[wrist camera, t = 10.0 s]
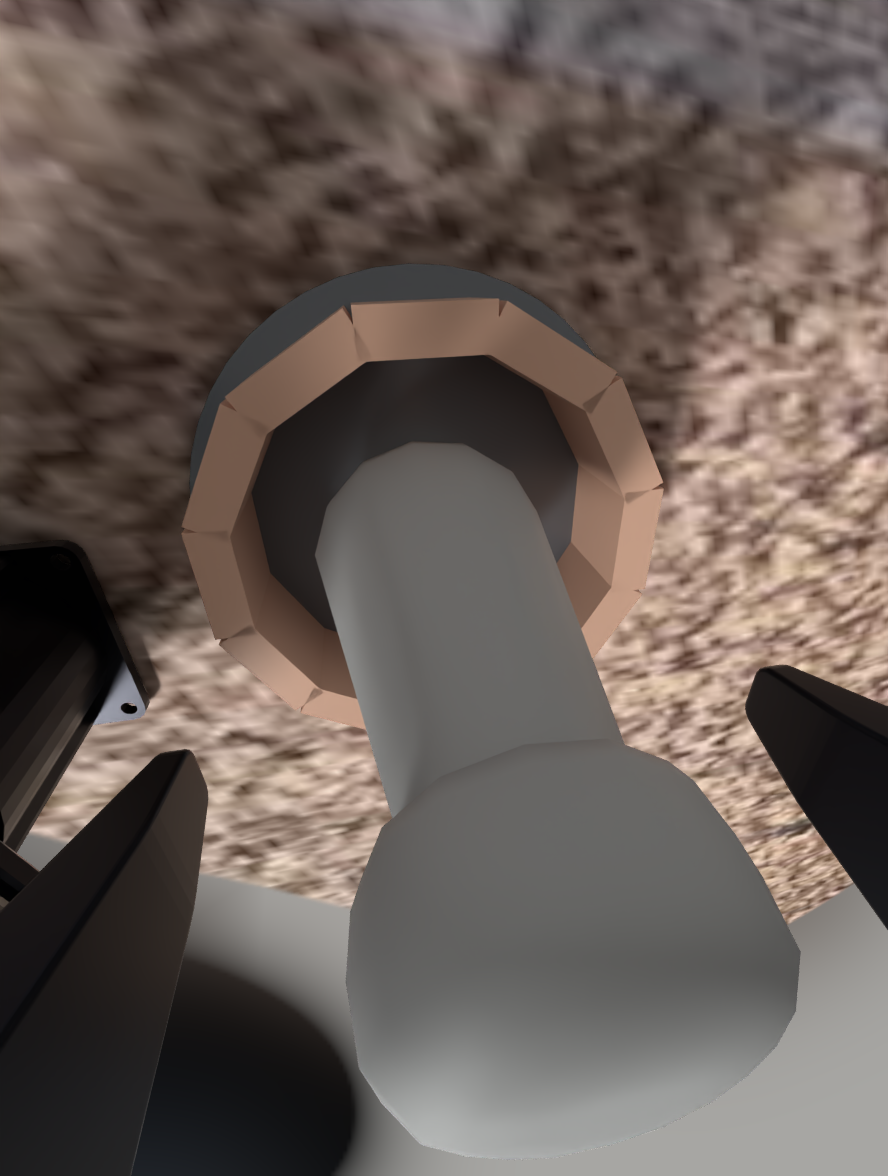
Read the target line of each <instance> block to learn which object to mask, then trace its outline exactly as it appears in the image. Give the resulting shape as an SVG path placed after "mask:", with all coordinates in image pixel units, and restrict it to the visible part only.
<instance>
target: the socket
mask: <svg viewBox="0 0 888 1176" xmlns="http://www.w3.org/2000/svg"><path fill="white" fill-rule="evenodd" d="M616 374H617V371H615V370H614V369H612V368H611V367H609V366H608V365H606V364H605V363H603V362H601V361H600V360H598V359H597V358H596V357H595V356H594V354H593V353H592V351H591V350H590V348H589V347H588V345H587V344H586V343H585V341H584V340H583V339H582V338H581V337H580V336H579V335H578V334H577V333H576V332H575V331H574V330H573V329H572V328H571V327H570V325H569V324H568V323H567V322H566V321H565V320H564V319H563V318H561V317H560V316H559V315H557V314H556V313H555V312H554V311H552V310H551V309H550V308H548V307H547V306H546V305H545V304H543V303H542V302H541V301H540V300H538V299H536V298H534V297H533V296H531V295H529V294H527V293H526V292H524V291H522V290H520V289H518V288H517V287H515V286H513V285H511V284H509V283H506V282H504V281H501V280H498V279H496V278H493V277H490V276H487V275H485V274H482V273H479V272H476V271H471V270H466V269H461V268H456V267H451V266H446V265H429V264H400V265H392V266H383V267H374V268H370V269H366V270H362V271H359V272H355V273H351V274H348V275H344V276H341V277H337V278H335V279H333V280H331V281H328V282H326V283H324V284H322V285H320V286H317V287H315V288H313V289H311V290H308V291H306V292H304V293H303V294H301V295H300V296H298V297H297V298H295V299H294V300H292V301H291V302H289V303H287V304H286V305H284V306H283V307H281V308H280V309H278V310H277V311H275V312H274V313H273V314H272V315H271V316H270V317H269V318H267V319H266V320H265V321H264V322H263V323H262V324H261V325H260V326H259V327H257V328H256V329H255V330H254V331H253V332H252V333H251V334H250V335H249V336H248V337H247V338H246V339H245V341H244V342H243V343H242V344H241V346H240V347H239V348H238V349H237V351H236V352H235V353H234V354H233V355H232V357H231V358H230V359H229V360H228V362H227V363H226V365H225V367H224V368H223V370H222V372H221V373H220V375H219V377H218V379H217V380H216V382H215V384H214V386H213V387H212V389H211V391H210V393H209V396H208V398H207V401H206V403H205V406H204V408H203V411H202V414H201V416H200V419H199V421H198V425H197V430H196V434H195V439H194V443H193V448H192V452H191V467H190V482H189V485H190V500H189V503H188V506H187V510H186V513H185V516H184V519H183V522H182V525H181V527H183V528H185V529H184V531H183V532H182V534H181V535H182V538H183V541H184V544H185V548H186V551H187V554H188V557H189V560H190V563H191V566H192V569H193V572H194V575H195V578H196V582H197V585H198V588H199V591H200V594H201V597H202V600H203V603H204V606H205V609H206V612H207V616H208V619H209V622H210V625H211V628H212V631H213V634H214V637H215V640H216V639H221V641H220V643H219V645H220V646H221V647H222V648H223V649H224V650H226V651H227V652H228V653H229V654H230V655H231V656H233V657H234V658H235V659H236V660H237V661H238V662H240V663H241V664H242V665H243V666H244V667H245V668H247V669H248V670H249V671H250V672H251V673H252V674H254V675H255V676H256V677H257V678H258V679H259V680H261V681H262V682H263V683H264V684H265V685H266V686H268V687H269V688H270V689H271V690H272V691H274V692H275V693H276V694H277V695H278V696H279V697H281V698H282V699H283V700H284V701H285V702H286V703H288V704H289V705H290V706H291V707H292V708H293V709H295V710H297V709H298V708H300V707H301V713H303V714H307V715H311V716H315V717H319V718H323V719H327V720H330V721H334V722H338V723H342V724H346V725H350V726H354V727H358V728H362V729H366V727H365V723H364V720H363V717H362V713H361V710H360V706H359V703H358V700H357V696H356V693H355V689H354V686H353V683H352V679H351V676H350V672H349V669H348V666H347V662H346V659H345V655H344V652H343V649H342V645H341V642H340V638H339V635H338V632H337V628H336V625H335V622H334V618H333V615H332V611H331V608H330V605H329V601H328V598H327V594H326V591H325V588H324V584H323V581H322V577H321V574H320V571H319V567H318V564H317V560H316V557H315V553H316V549H317V545H318V540H319V536H320V532H321V528H322V524H323V520H324V516H325V512H326V508H327V506H328V504H329V503H330V501H331V500H332V499H333V497H334V496H335V495H336V494H337V492H338V491H339V490H340V489H341V488H342V486H343V485H344V484H345V483H346V481H347V480H348V479H349V478H350V477H351V475H352V474H353V473H354V472H355V470H356V469H357V468H358V467H359V465H360V464H361V463H362V462H363V461H366V460H368V459H371V458H373V457H375V456H378V455H380V454H383V453H385V452H387V451H390V450H392V449H395V448H397V447H399V446H402V445H404V444H407V443H409V442H411V441H415V442H441V443H463V444H465V445H467V446H469V447H471V448H472V449H474V450H476V451H477V452H479V453H481V454H483V455H484V456H486V457H488V458H490V459H491V460H493V461H495V462H496V463H498V464H500V465H502V466H503V467H505V468H507V469H509V470H510V471H512V472H513V473H514V475H515V477H516V478H517V480H518V481H519V483H520V485H521V486H522V488H523V490H524V491H525V493H526V494H527V496H528V498H529V499H530V501H531V503H532V504H533V506H534V508H535V509H536V511H537V513H538V515H539V518H540V521H541V523H542V526H543V529H544V531H545V534H546V537H547V539H548V542H549V545H550V547H551V550H552V553H553V555H554V558H555V561H556V563H557V566H558V569H559V571H560V574H561V577H562V579H563V582H564V585H565V587H566V590H567V593H568V595H569V598H570V601H571V603H572V606H573V609H574V611H575V614H576V617H577V619H578V622H579V624H580V627H581V630H582V632H583V635H584V638H585V640H586V643H587V646H588V648H589V651H590V654H591V656H592V659H593V658H594V657H595V655H596V654H597V653H598V652H599V650H600V649H601V648H602V646H603V645H604V644H605V642H606V641H607V640H608V638H609V637H610V636H611V634H612V633H613V632H614V631H615V629H616V628H617V627H618V625H619V624H620V623H621V621H622V620H623V619H624V617H625V616H626V615H627V614H628V612H629V611H630V610H631V608H632V607H633V606H634V604H635V603H636V602H637V600H638V599H639V598H640V596H641V595H642V593H641V592H640V591H639V589H645V585H646V580H647V574H648V569H649V564H650V558H651V553H652V548H653V542H654V537H655V532H656V527H657V521H658V516H659V511H660V505H661V500H662V495H663V490H664V489H663V488H662V487H660V486H658V485H660V484H661V483H663V481H662V478H661V476H660V473H659V470H658V468H657V465H656V463H655V460H654V458H653V455H652V453H651V450H650V448H649V445H648V442H647V440H646V437H645V435H644V432H643V430H642V427H641V425H640V422H639V419H638V417H637V414H636V412H635V409H634V407H633V404H632V402H631V399H630V396H629V394H628V391H627V389H626V386H625V384H624V381H623V379H622V377H618V376H615V375H616Z"/></svg>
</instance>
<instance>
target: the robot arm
mask: <svg viewBox="0 0 888 1176" xmlns="http://www.w3.org/2000/svg"><path fill="white" fill-rule="evenodd" d="M57 554H61V555H64V556H66V557H68V559H69V560H70V561H71V564H66V563H64V562H62V561H61V560H60V559H59V558H58V556H57ZM127 703H132V704H135V705H136V706H131V705H129V704H127ZM149 703H150V702H149V697H148V695H147V693H146V690H145V688H144V686H143V683H142V681H141V679H140V677H139V674H138V672H137V670H136V667H135V665H134V663H133V661H132V658H131V656H130V654H129V651H128V649H127V647H126V644H125V642H124V640H123V638H122V635H121V633H120V631H119V628H118V626H117V624H116V622H115V619H114V617H113V615H112V612H111V610H110V608H109V605H108V603H107V601H106V599H105V596H104V594H103V592H102V589H101V587H100V585H99V583H98V580H97V578H96V576H95V573H94V571H93V569H92V566H91V564H90V562H89V560H88V557H87V555H86V553H85V552H84V550H83V549H82V548H81V547H80V546H78V545H77V544H76V543H73V542H70V541H66V540H56V541H45V542H34V543H24V544H13V545H2V546H0V1176H131V1172H132V1168H133V1164H134V1159H135V1155H136V1151H137V1147H138V1143H139V1138H140V1134H141V1130H142V1126H143V1122H144V1118H145V1113H146V1109H147V1105H148V1101H149V1097H150V1092H151V1088H152V1084H153V1080H154V1076H155V1071H156V1067H157V1063H158V1059H159V1055H160V1051H161V1047H162V1042H163V1038H164V1034H165V1030H166V1026H167V1021H168V1017H169V1013H170V1009H171V1005H172V1000H173V996H174V992H175V988H176V984H177V980H178V975H179V971H180V967H181V963H182V958H183V955H184V950H185V946H186V942H187V938H188V934H189V929H190V925H191V920H192V915H193V911H194V905H195V898H196V892H197V884H198V876H199V869H200V861H201V853H202V845H203V837H204V830H205V822H206V814H207V806H208V789H207V785H206V782H205V780H204V778H203V775H202V773H201V770H200V768H199V765H198V763H197V760H196V758H195V756H194V754H193V753H192V752H191V751H190V750H187V749H183V750H176V751H169V752H163V753H160V754H159V755H157V756H156V757H155V758H154V759H153V760H152V761H151V762H150V763H149V764H148V765H147V766H146V767H145V768H144V769H143V770H142V771H141V772H140V773H139V774H138V775H137V776H136V777H135V778H134V779H133V780H132V781H131V782H129V783H128V784H127V785H126V786H125V787H124V788H123V789H122V790H121V791H120V792H119V793H118V794H117V795H116V796H115V797H114V798H113V799H112V800H111V801H110V802H109V803H108V804H107V805H106V806H105V807H104V808H103V809H102V810H101V811H100V812H99V813H98V814H97V815H96V816H95V817H94V818H93V819H92V820H91V821H90V822H89V823H88V824H87V825H86V826H85V827H84V828H83V829H82V830H81V831H80V832H79V833H78V834H77V835H76V836H75V837H74V838H73V839H72V840H71V841H70V842H69V843H68V844H67V845H66V846H65V847H64V848H63V849H62V850H61V851H60V852H59V853H58V854H57V855H56V856H55V857H54V858H53V859H52V860H51V861H50V862H49V863H48V864H47V865H46V866H45V867H44V868H43V869H42V870H41V871H39V870H37V869H36V868H35V867H34V866H32V865H31V864H30V863H28V862H27V861H26V860H25V859H23V858H22V857H21V856H20V855H18V854H17V851H18V850H19V848H20V846H21V845H22V843H23V841H24V840H25V838H26V836H27V835H28V833H29V831H30V830H31V828H32V826H33V825H34V823H35V821H36V819H37V818H38V816H39V814H40V813H41V811H42V809H43V808H44V806H45V804H46V803H47V801H48V799H49V798H50V796H51V794H52V793H53V791H54V789H55V787H56V786H57V784H58V782H59V781H60V779H61V777H62V776H63V774H64V772H65V771H66V769H67V767H68V766H69V764H70V762H71V761H72V759H73V757H74V755H75V754H76V752H77V750H78V749H79V747H80V745H81V744H82V742H83V740H84V739H85V737H86V735H87V734H88V732H89V730H90V729H91V727H92V725H96V724H104V723H111V722H119V721H126V720H134V719H137V718H140V717H142V716H143V715H144V713H145V711H146V709H147V707H148V705H149ZM745 710H746V715H747V717H748V719H749V721H750V723H751V725H752V726H753V728H754V730H755V732H756V733H757V735H758V737H759V738H760V740H761V742H762V744H763V745H764V747H765V749H766V750H767V752H768V754H769V756H770V757H771V759H772V761H773V762H774V764H775V766H776V768H777V769H778V771H779V773H780V774H781V776H782V778H783V780H784V781H785V783H786V785H787V786H788V788H789V790H790V791H791V793H792V795H793V796H794V798H795V800H796V801H797V803H798V804H799V806H800V807H801V809H802V810H803V812H804V813H805V814H806V816H807V817H808V819H809V820H810V822H811V823H812V824H813V826H814V827H815V829H816V830H817V831H818V833H819V834H820V836H821V837H822V838H823V840H824V841H825V843H826V844H827V846H828V847H829V848H830V850H831V851H832V853H833V854H834V855H835V857H836V858H837V860H838V861H839V862H840V864H841V865H842V867H843V868H844V869H845V871H846V872H847V874H848V875H849V876H850V878H851V879H852V881H853V882H854V883H855V885H856V886H857V888H858V889H859V890H860V892H861V893H862V895H863V896H864V897H865V899H866V900H867V902H868V903H869V905H870V906H871V907H872V909H873V910H874V912H875V913H876V914H877V916H878V917H879V918H880V920H881V921H882V923H883V924H884V925H885V927H886V928H887V930H888V706H885V705H883V704H881V703H878V702H876V701H873V700H871V699H868V698H866V697H864V696H861V695H859V694H856V693H854V692H852V691H849V690H847V689H844V688H842V687H840V686H837V685H835V684H832V683H830V682H828V681H825V680H823V679H820V678H818V677H815V676H813V675H811V674H808V673H806V672H803V671H801V670H799V669H796V668H794V667H791V666H789V665H775V666H768V667H763V668H760V669H759V670H758V671H757V673H756V675H755V678H754V680H753V683H752V686H751V689H750V692H749V695H748V698H747V700H746V704H745Z"/></svg>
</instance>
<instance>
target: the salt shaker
mask: <svg viewBox="0 0 888 1176" xmlns="http://www.w3.org/2000/svg"><path fill="white" fill-rule="evenodd" d="M315 557H316V560H317V564H318V567H319V571H320V574H321V577H322V581H323V584H324V588H325V591H326V594H327V598H328V601H329V605H330V608H331V611H332V615H333V618H334V622H335V625H336V628H337V632H338V635H339V638H340V642H341V645H342V649H343V652H344V655H345V659H346V662H347V666H348V669H349V672H350V676H351V679H352V683H353V686H354V689H355V693H356V696H357V700H358V703H359V706H360V710H361V713H362V717H363V720H364V723H365V727H366V730H367V734H368V737H369V740H370V744H371V747H372V751H373V754H374V757H375V761H376V764H377V768H378V771H379V774H380V778H381V781H382V785H383V788H384V791H385V795H386V798H387V801H388V805H389V808H390V812H391V815H392V819H391V820H390V821H389V822H388V823H386V824H385V825H384V826H383V827H382V828H381V831H380V833H379V836H378V838H377V841H376V843H375V846H374V848H373V851H372V853H371V856H370V858H369V861H368V863H367V866H366V868H365V871H364V873H363V876H362V878H361V881H360V884H359V887H358V890H357V893H356V896H355V899H354V902H353V905H352V908H351V911H350V926H349V941H348V957H347V972H346V986H347V993H348V999H349V1005H350V1012H351V1018H352V1025H353V1032H354V1038H355V1045H356V1052H357V1058H358V1065H359V1069H360V1071H361V1072H362V1074H363V1075H364V1077H365V1078H366V1080H367V1081H368V1083H369V1084H370V1086H371V1088H372V1089H373V1091H374V1092H375V1094H376V1095H377V1097H378V1098H379V1100H380V1101H381V1103H382V1104H383V1105H384V1106H385V1107H386V1108H387V1109H388V1110H389V1111H390V1113H391V1114H392V1115H393V1116H394V1117H395V1118H396V1119H397V1120H398V1121H399V1122H400V1123H401V1124H402V1125H403V1126H404V1127H405V1128H406V1130H408V1132H409V1133H410V1134H411V1135H412V1136H413V1137H414V1138H415V1139H416V1140H417V1141H418V1142H419V1143H420V1144H421V1145H424V1146H428V1147H432V1148H436V1149H439V1150H443V1151H447V1152H451V1153H455V1154H459V1155H463V1156H470V1157H482V1158H493V1159H504V1160H514V1159H539V1158H540V1159H541V1158H556V1157H561V1156H565V1155H569V1154H574V1153H578V1152H582V1151H587V1150H591V1149H595V1148H600V1147H604V1146H608V1145H612V1144H615V1143H618V1142H620V1141H623V1140H626V1139H629V1138H633V1137H636V1136H639V1135H641V1134H644V1133H647V1132H650V1131H653V1130H656V1129H659V1128H662V1127H665V1126H667V1125H669V1124H671V1123H673V1122H675V1121H677V1120H679V1119H681V1118H683V1117H685V1116H686V1115H688V1114H690V1113H692V1112H694V1111H696V1110H698V1109H700V1108H702V1107H704V1106H706V1105H708V1104H710V1103H711V1102H713V1101H714V1100H716V1099H717V1098H718V1097H720V1096H721V1095H722V1094H724V1093H725V1092H727V1091H728V1090H729V1089H731V1088H732V1087H733V1086H735V1085H736V1084H737V1083H739V1082H740V1081H741V1080H743V1079H744V1078H745V1077H747V1076H748V1075H749V1074H750V1073H751V1072H752V1071H753V1070H754V1069H755V1068H756V1067H757V1066H758V1065H759V1064H760V1063H761V1062H762V1061H763V1060H764V1059H765V1058H766V1057H767V1056H768V1055H769V1054H770V1053H771V1052H772V1050H773V1049H774V1048H775V1047H776V1046H777V1045H778V1043H779V1041H780V1039H781V1037H782V1035H783V1033H784V1032H785V1030H786V1028H787V1026H788V1024H789V1022H790V1021H791V1019H792V1017H793V1015H794V1013H795V1011H796V1001H797V988H798V976H799V964H800V950H799V948H798V946H797V944H796V942H795V940H794V938H793V936H792V934H791V932H790V930H789V928H788V926H787V924H786V922H785V920H784V918H783V916H782V914H781V912H780V910H779V908H778V906H777V904H776V902H775V900H774V898H773V896H772V894H771V893H770V891H769V889H768V887H767V885H766V883H765V881H764V879H763V877H762V875H761V874H760V872H759V870H758V869H757V867H756V866H755V864H754V863H753V861H752V860H751V858H750V856H749V855H748V853H747V852H746V850H745V849H744V847H743V845H742V844H741V842H740V841H739V839H738V838H737V836H736V835H735V833H734V832H733V831H732V829H731V828H730V827H729V826H728V824H727V823H726V822H725V820H724V819H723V818H722V817H721V815H720V814H719V813H718V811H717V810H716V809H715V808H714V806H713V805H712V804H711V802H710V801H709V800H708V799H707V797H706V796H705V795H704V793H703V792H702V791H701V790H700V788H699V787H698V786H697V784H696V783H695V782H694V781H693V780H692V779H691V778H690V777H688V776H687V775H686V774H684V773H683V772H682V771H681V770H679V769H678V768H677V767H675V766H674V765H673V764H671V763H670V762H669V761H667V760H664V759H662V758H659V757H656V756H654V755H651V754H648V753H646V752H643V751H640V750H637V749H635V748H632V747H629V746H627V745H625V744H624V741H623V739H622V736H621V733H620V731H619V728H618V726H617V723H616V720H615V718H614V715H613V712H612V710H611V707H610V704H609V702H608V699H607V696H606V694H605V691H604V688H603V686H602V683H601V680H600V678H599V675H598V672H597V670H596V667H595V664H594V662H593V659H592V656H591V654H590V651H589V648H588V646H587V643H586V640H585V638H584V635H583V632H582V630H581V627H580V624H579V622H578V619H577V617H576V614H575V611H574V609H573V606H572V603H571V601H570V598H569V595H568V593H567V590H566V587H565V585H564V582H563V579H562V577H561V574H560V571H559V569H558V566H557V563H556V561H555V558H554V555H553V553H552V550H551V547H550V545H549V542H548V539H547V537H546V534H545V531H544V529H543V526H542V523H541V521H540V518H539V515H538V513H537V511H536V509H535V508H534V506H533V504H532V503H531V501H530V499H529V498H528V496H527V494H526V493H525V491H524V490H523V488H522V486H521V485H520V483H519V481H518V480H517V478H516V477H515V475H514V473H513V472H512V471H510V470H509V469H507V468H505V467H503V466H502V465H500V464H498V463H496V462H495V461H493V460H491V459H490V458H488V457H486V456H484V455H483V454H481V453H479V452H477V451H476V450H474V449H472V448H471V447H469V446H467V445H465V444H463V443H441V442H415V441H411V442H409V443H407V444H404V445H402V446H399V447H397V448H395V449H392V450H390V451H387V452H385V453H383V454H380V455H378V456H375V457H373V458H371V459H368V460H366V461H363V462H362V463H361V464H360V465H359V467H358V468H357V469H356V470H355V472H354V473H353V474H352V475H351V477H350V478H349V479H348V480H347V481H346V483H345V484H344V485H343V486H342V488H341V489H340V490H339V491H338V492H337V494H336V495H335V496H334V497H333V499H332V500H331V501H330V503H329V504H328V506H327V508H326V512H325V516H324V520H323V524H322V528H321V532H320V536H319V540H318V545H317V549H316V553H315Z"/></svg>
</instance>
